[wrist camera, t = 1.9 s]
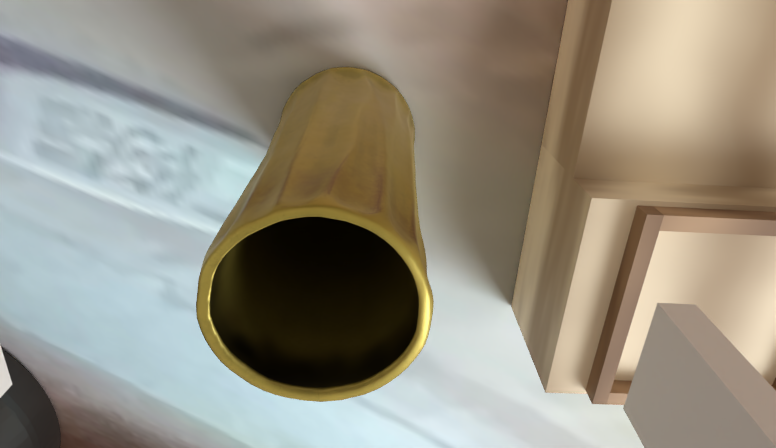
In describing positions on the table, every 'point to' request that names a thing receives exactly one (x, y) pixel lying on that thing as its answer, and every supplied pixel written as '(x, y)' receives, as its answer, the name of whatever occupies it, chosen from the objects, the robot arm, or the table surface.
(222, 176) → the table surface
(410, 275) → the vase
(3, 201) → the table surface
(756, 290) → the step stand
